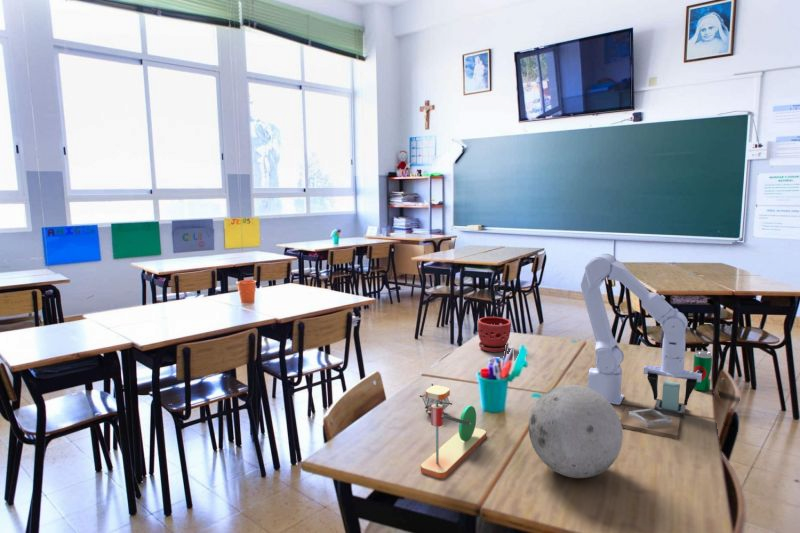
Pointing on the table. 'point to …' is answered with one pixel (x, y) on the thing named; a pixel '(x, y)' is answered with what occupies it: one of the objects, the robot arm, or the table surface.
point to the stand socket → (670, 412)
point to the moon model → (575, 431)
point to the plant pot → (493, 333)
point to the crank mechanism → (459, 444)
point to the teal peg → (670, 395)
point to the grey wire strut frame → (434, 402)
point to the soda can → (703, 369)
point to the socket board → (654, 430)
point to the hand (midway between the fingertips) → (670, 401)
